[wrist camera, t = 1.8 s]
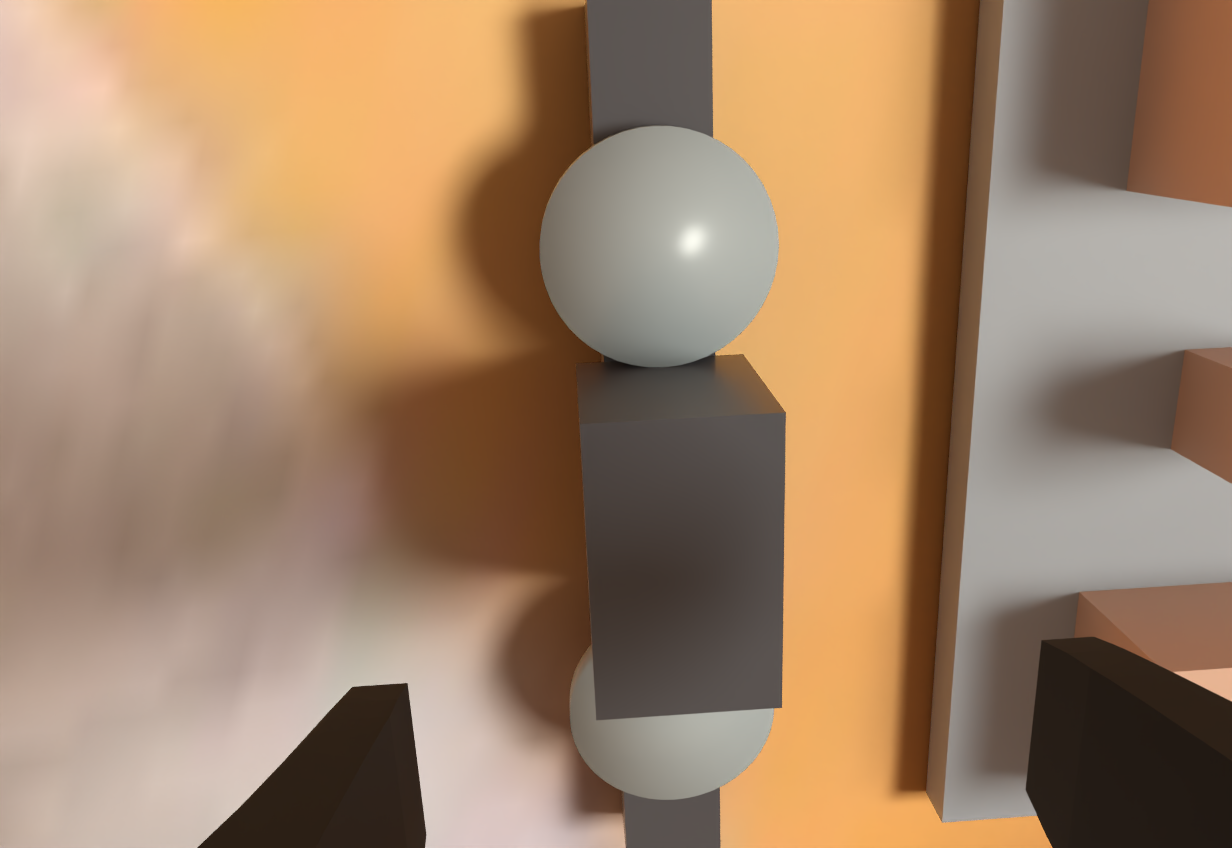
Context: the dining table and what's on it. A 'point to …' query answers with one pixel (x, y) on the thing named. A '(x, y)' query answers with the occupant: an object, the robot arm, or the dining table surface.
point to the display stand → (1086, 371)
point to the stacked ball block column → (669, 427)
